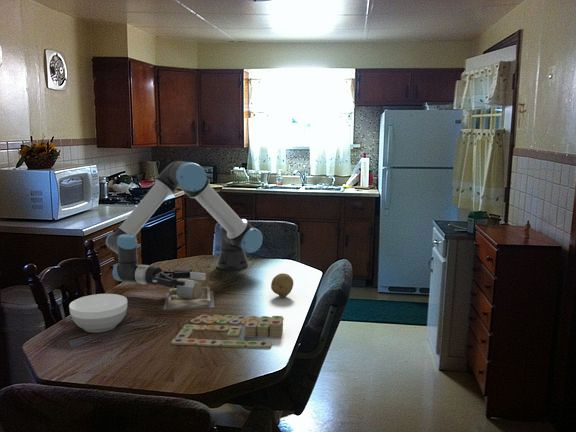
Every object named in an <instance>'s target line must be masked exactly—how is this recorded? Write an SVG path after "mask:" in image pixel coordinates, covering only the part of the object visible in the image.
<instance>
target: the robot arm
mask: <svg viewBox="0 0 576 432" xmlns="http://www.w3.org/2000/svg"><path fill="white" fill-rule="evenodd" d="M210 181H211V180H210V179H209V178H208V177H207V173H206V170H205V168H203V166H201V165H199V164H198V163H195V162H192V161H183V160H176V161H173V162H171V163H170V164H168V165H167V166H166V167H165V168H164V169H163V170H162V171H161V172H160V173H159V175H158V176H157V177H156V179H155V180H154V185H152V186H151V188H150V189H149V190H148V191H147V193H145V195H144V196H143V198H142V199H141V201H139V203H138V204H137V205H136V207H134V209H133V210H132V211H131V213H130V214H129V215H128V216H127V218H126V219H125V220H124V221H123V222H122V223H121V225H119V227H118V228H117V229H116V231H115V232H112V233H110V234H108V235H107V236H106V239H105V244H106V246H107V248H108V249H109V250H110V251H112V252H114V253H116V254H117V256H118V257H117V258H118V260H117V262H116V263H114V265H113V267H112V269H113V270H112V272H111V273H112V277H113V279H114V280H115V281H119V282H123V283H135V284H141V285H152V286H157V285H159V286H162V287H167V288H170V289H176V288H177V285H178V286H182V287H191V288H193V287H194V282H193V281H194V280H196V281H197V280H198V281H199V280H200V281H206V279H207V278H206V273H205V272H197V271H196V272H195V271H193V270H192V269H172V268H169V269H168V270H162V268H161V267H160V266H157V265H149V264H138V262H139V261H138V239H137V234H138V233H140V231H141V229H142V228H143V227H144V226H145V225H146V223H147V222H148V221H149V220H150V218H151V217H152V216H153V215H154V214H155V212H156V211H157V210H158V208H159V207H161V205H162V204H163V203H164V201H165V200H166V199H167V198H168V197H169V195H173V194H174V193H175V192H176V190H177V189H180V190H182V192H183V193H184V194H185V195H186V196H187V197H188V198H190V199H195V200H196V201H197V202H198V203H199V204H200V205H201V207H203V208H204V209H205V210H206V211H207V213H209V215H210V216H212V218H213V219H215V220H216V222H217V223H218V224H219V235H220V237H219V238H220V239H219V240H220V241H219V243H220V249H219V250H220V251H219V255H218V257H217V261H216V268H218V269H220V270H225V271H237V270H238V271H239V270H243V269H246V268H247V267H248V266H249V261H248V258H247V256H246V253H247V254H251V253H256V252H257V251H258V250H259V249H260V247H261V246H262V244H263V238H264V237H263V233H262V232H261V230H259V229H258V228H256V227H253V226H252V225H251V223H250V222H249V221H248V220H247V219H246V218H240V217H239V215H238V214H237V213H236V212H235V211H234V210H233V209H232V208H231V206H230V205H229V204H227V202H226V201H225V200H224V199H223V198H222V197H221V196H220V194H219V193H218V192H217V191H216V190H215V189H214V188H213V187H212V186H211V184H210V183H211V182H210ZM186 279H188V280H186Z"/></svg>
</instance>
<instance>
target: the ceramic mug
mask: <svg viewBox="0 0 576 432" xmlns="http://www.w3.org/2000/svg"><path fill="white" fill-rule="evenodd" d="M185 279H186V280H189V278H185ZM193 282H194V287H193V288H191V287H182V286H178V285H177V290H176V292H177V296H178V297H179V298H185V299H191V300H197V299H199V298H200V296H201V295H202V294H203V291H202V289H203V288H202V287H203V285H202V283H201V282H199V281H197V280H193Z"/></svg>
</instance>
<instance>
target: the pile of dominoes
mask: <svg viewBox="0 0 576 432" xmlns="http://www.w3.org/2000/svg"><path fill="white" fill-rule="evenodd" d="M189 323H191V324H185V325H183V327H182V328H181V329H180V330H179V331H178V332H177V334H176V336H175V337H174V338H173V339H172V340H171V342H170V344H171V345H173V346H174V345H175V346H177V345H178V346H198V347H213V346H214V348H215V347H216V348H217V347H222V348H223V347H224V348H239V349H240V348H241V349H242V348H244V349H245V348H247V349H265V350H266V349H268V350H269V349H271V348H272V345H273V343H272V341H268V340H265V341H264V340H263V341H262V340H261V341H260V340H248V341H247V340H234V339H223V340H221V339H202V338H201V339H198V338H189V337H190V336H191V335H192V333H193V331H202V332H204V331H208V332H225V333H226V332H227V335H226V336H227V337H230V338H231V337H234V338H235V337H236V338H237V337H240V335H241V332H242V329H243V327H242V326H241V325H243V326H244V337H245V338H258V339H259V338H260V339H268V338H269V339H280V340H281V339H282V337H283V333H284V329H283V328H284V316H283V315H272V316H267V315H266V316H265V315H262V316H255V315H249V316H246V315H242V314H241V315H232V314H227V315H224V316H223V315H219V314H213V315H212V316H211V315H209V314H201V315H199V316H196V317H195V318H192V319H191V320H189ZM201 323H203V324H201ZM215 323H216V324H218V325H216V324H215ZM205 324H207V325H205ZM226 324H229V325H226Z"/></svg>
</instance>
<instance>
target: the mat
mask: <svg viewBox="0 0 576 432" xmlns="http://www.w3.org/2000/svg"><path fill="white" fill-rule="evenodd" d="M168 297H169V292H166V295H165V301H164V305H163V311H166V310H167V311H168V310H187V309H189V310H190V309H206V308H207V309H210V308H215V297H214V290H210V306H193V307H172V308H168Z"/></svg>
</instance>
